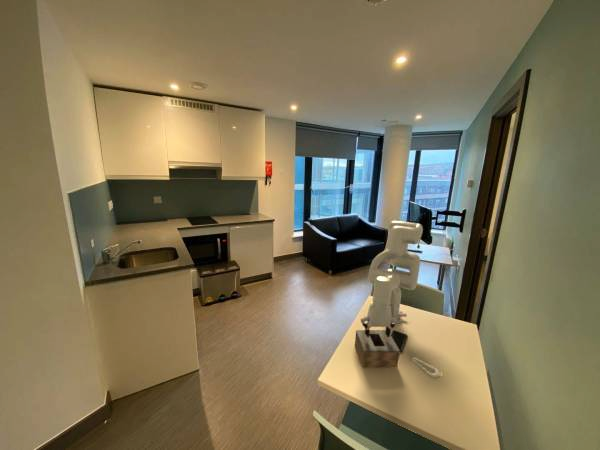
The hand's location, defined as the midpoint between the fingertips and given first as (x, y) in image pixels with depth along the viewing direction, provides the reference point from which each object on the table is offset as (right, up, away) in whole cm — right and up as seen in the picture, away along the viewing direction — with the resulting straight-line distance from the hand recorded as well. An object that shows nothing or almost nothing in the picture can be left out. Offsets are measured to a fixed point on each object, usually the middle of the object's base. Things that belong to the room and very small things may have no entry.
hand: (377, 335), depth 113 cm
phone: (+15, -10, +13) cm, 22 cm away
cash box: (0, -11, +3) cm, 11 cm away
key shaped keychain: (+21, -14, -4) cm, 25 cm away
